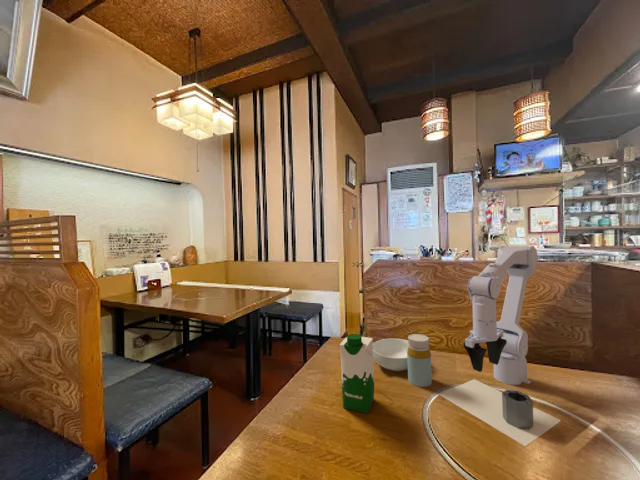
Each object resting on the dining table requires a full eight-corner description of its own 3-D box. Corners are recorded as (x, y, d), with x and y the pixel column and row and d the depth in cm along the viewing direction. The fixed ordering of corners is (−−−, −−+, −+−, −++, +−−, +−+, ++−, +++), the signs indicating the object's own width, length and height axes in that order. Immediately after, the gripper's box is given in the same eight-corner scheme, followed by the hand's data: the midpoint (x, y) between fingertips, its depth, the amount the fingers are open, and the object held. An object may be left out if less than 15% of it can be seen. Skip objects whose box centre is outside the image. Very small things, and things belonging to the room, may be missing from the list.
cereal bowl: (371, 355, 107) (370, 337, 107) (414, 356, 105) (414, 338, 105) (373, 377, 91) (373, 356, 91) (425, 379, 88) (424, 358, 88)
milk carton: (339, 409, 75) (336, 337, 75) (349, 391, 83) (347, 327, 83) (370, 416, 71) (367, 341, 71) (377, 397, 79) (375, 330, 79)
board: (474, 382, 85) (473, 379, 85) (561, 425, 65) (561, 420, 65) (439, 398, 78) (439, 394, 78) (525, 451, 58) (525, 446, 58)
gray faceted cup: (510, 410, 70) (509, 387, 70) (536, 423, 65) (535, 398, 65) (499, 419, 67) (498, 395, 67) (525, 432, 62) (525, 406, 62)
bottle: (434, 391, 81) (432, 342, 81) (409, 389, 83) (408, 341, 82) (429, 379, 88) (427, 333, 88) (407, 378, 90) (405, 333, 89)
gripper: (485, 311, 83) (487, 355, 83) (454, 319, 76) (456, 367, 77) (510, 317, 77) (512, 364, 77) (478, 326, 70) (480, 378, 70)
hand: (485, 366), depth 76 cm, fingers open, 7 cm apart
